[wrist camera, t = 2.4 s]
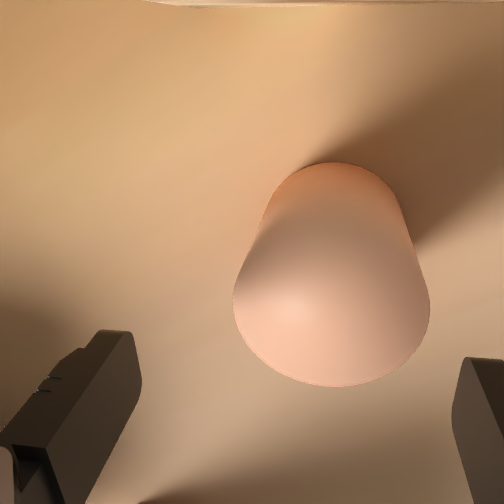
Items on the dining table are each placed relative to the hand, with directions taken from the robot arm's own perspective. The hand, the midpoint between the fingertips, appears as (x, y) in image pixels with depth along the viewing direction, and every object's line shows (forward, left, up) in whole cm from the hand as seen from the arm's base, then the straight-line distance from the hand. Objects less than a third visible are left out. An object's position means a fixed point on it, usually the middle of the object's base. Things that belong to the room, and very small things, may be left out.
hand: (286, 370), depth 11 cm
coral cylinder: (-1, 0, -8) cm, 8 cm away
